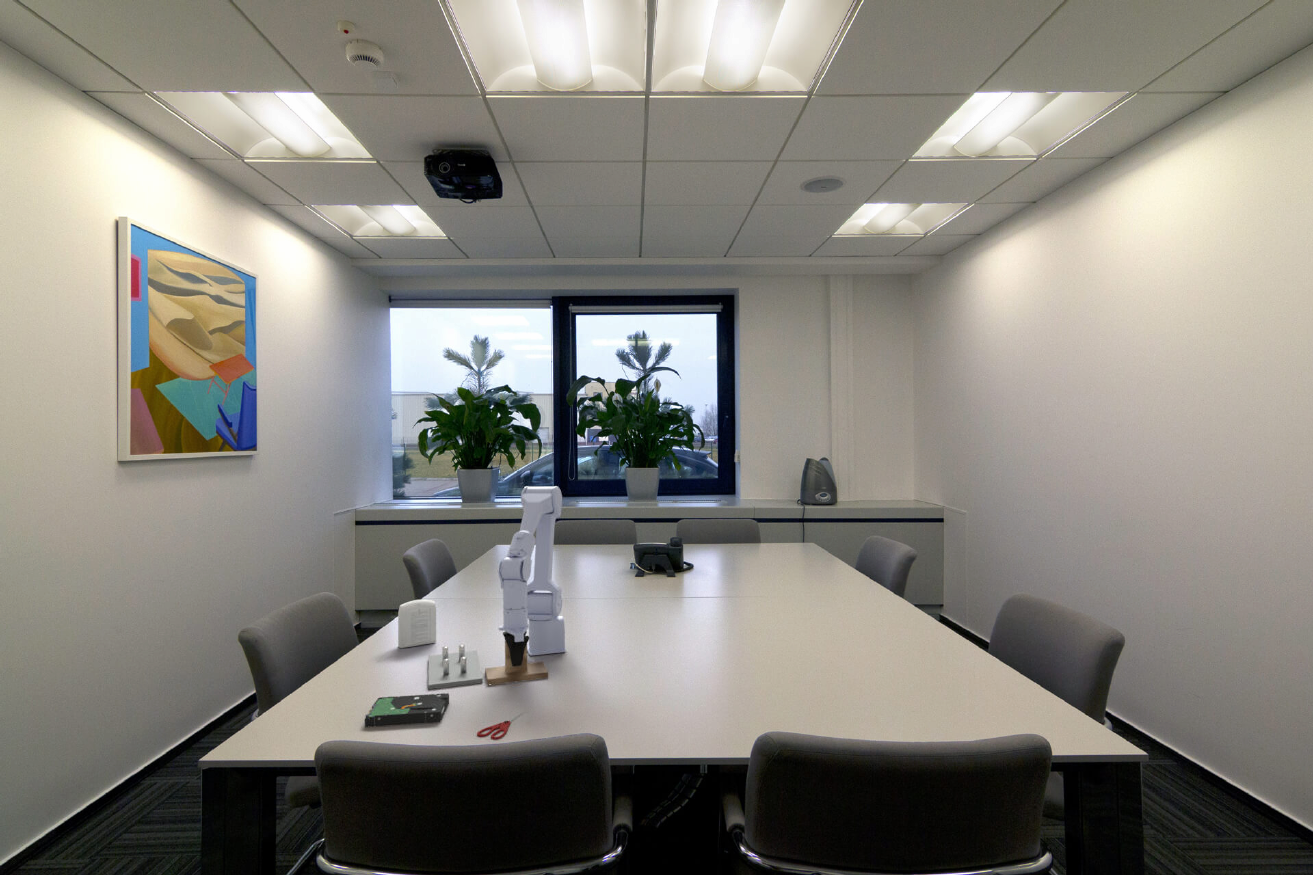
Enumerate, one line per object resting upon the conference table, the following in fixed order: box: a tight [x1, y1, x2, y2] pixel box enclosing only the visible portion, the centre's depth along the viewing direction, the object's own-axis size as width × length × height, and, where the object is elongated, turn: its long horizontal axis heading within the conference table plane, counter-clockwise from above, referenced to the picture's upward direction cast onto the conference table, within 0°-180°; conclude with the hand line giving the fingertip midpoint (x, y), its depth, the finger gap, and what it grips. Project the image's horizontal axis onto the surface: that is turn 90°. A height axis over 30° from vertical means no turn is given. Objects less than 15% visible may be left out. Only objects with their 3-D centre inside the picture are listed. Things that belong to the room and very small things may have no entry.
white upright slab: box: [397, 599, 437, 649], centre depth 188 cm, size 10×4×12 cm, turn 123°
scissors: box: [476, 709, 527, 741], centre depth 135 cm, size 5×14×1 cm, turn 158°
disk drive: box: [364, 692, 450, 728], centre depth 140 cm, size 10×3×15 cm
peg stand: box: [428, 644, 484, 690], centre depth 166 cm, size 12×22×4 cm, turn 19°
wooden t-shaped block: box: [484, 640, 549, 686], centre depth 162 cm, size 14×8×8 cm, turn 108°
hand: (516, 663), depth 162 cm, fingers closed on wooden t-shaped block, 2 cm apart
